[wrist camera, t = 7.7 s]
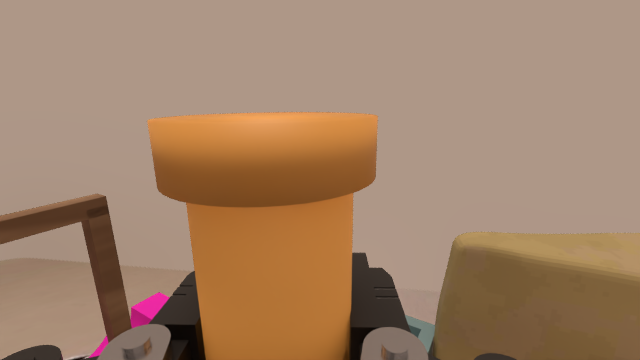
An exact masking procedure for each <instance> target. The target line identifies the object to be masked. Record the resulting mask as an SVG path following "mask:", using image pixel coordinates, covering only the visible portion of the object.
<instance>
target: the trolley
mask: <svg viewBox="0 0 640 360" xmlns="http://www.w3.org/2000/svg"><path fill="white" fill-rule="evenodd" d="M77 222H82V227H83V231H84V236H85V240H86V245H87V249H88V254H89V258H90V263H91V267H92V272H93V276H94V281H95V285H96V290H97V294H98V299H99V303H100V308H101V312H102V316H103V321H104V325H105V330H106V334H107V339H108V343H109V342H110V341H112V340H113V339H114V338H115V337H117V336H118V335H120V334H122V333H123V332H125V331H127V330H130V329H132V326H131V321H130V316H129V311H128V306H127V301H126V296H125V290H124V285H123V280H122V275H121V270H120V265H119V260H118V255H117V250H116V246H115V240H114V235H113V231H112V225H111V220H110V215H109V210H108V205H107V200H106V196H103V195H99V194H94V195H89V196H85V197H81V198H76V199H72V200H67V201H63V202H58V203H54V204H50V205H46V206H41V207H36V208H32V209H28V210H24V211H19V212H14V213H10V214H6V215H1V216H0V244H3V243H7V242H10V241H14V240H17V239H21V238H24V237H28V236H31V235H35V234H38V233H42V232H45V231H49V230H53V229H56V228H60V227H63V226H67V225H70V224H74V223H77Z"/></svg>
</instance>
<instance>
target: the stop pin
mask: <svg viewBox="0 0 640 360" xmlns="http://www.w3.org/2000/svg"><path fill="white" fill-rule="evenodd" d="M377 121H378V116H377V115H371V114H360V113H330V112H282V113H279V112H276V113H234V114H233V113H232V114H207V115H188V116H174V117H162V118H155V119H149V120H148V128H149V134H150V142H151V149H152V155H153V162H154V169H155V176H156V182H157V188H158V190H159V192H161V193H162V194H163V195H165V196H167V197H169V198H171V199H175V200H178V201H182V202H186V205H187V213H188V221H189V229H190V237H191V245H192V253H193V261H194V269H195V277H196V285H197V293H198V301H199V309H200V317H201V325H202V333H203V341H204V349H205V357H206V360H349V341H350V313H351V291H352V231H353V229H352V228H353V193H354V192H357V191H359V190H361V189H363V188H365V187H367V186H369V185H370V184H371V183H372V182H373V181H374V180H375V177H376V151H377Z"/></svg>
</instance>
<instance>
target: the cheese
mask: <svg viewBox="0 0 640 360" xmlns="http://www.w3.org/2000/svg"><path fill="white" fill-rule="evenodd" d="M485 353H497V354H503V355H506V356H510V357H512V358H515V359H517V360H640V233H595V234H519V233H498V232H470V233H465V234H461V235H459V236H457V237H456V238H455V240H454V241H453V245H452V248H451V253H450V257H449V261H448V265H447V270H446V274H445V278H444V282H443V286H442V290H441V294H440V299H439V304H438V309H437V315H436V323H435V333H434V345H433V356H434V357H436V358H438V359H440V360H474V359H475V358H476V357H477V356H479V355H481V354H485Z"/></svg>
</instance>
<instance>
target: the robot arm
mask: <svg viewBox="0 0 640 360" xmlns="http://www.w3.org/2000/svg"><path fill="white" fill-rule="evenodd" d="M2 360H63V357H62V354H61V351H60V349H59V348H58V347H56V346H53V345H41V346H35V347H31V348H27V349H24V350H21V351H19V352H16V353H14V354H12V355H10V356H7V357H6V358H4V359H2ZM81 360H206V357H205V349H204V341H203V333H202V325H201V317H200V309H199V301H198V293H197V285H196V277H195V271H193V272H192V273H190V274H189V275H188V276H187V277H186V278H185V279H184V281H183V282H182V283H181V284H180V287H178V288H177V289H176V290H175V292H174V293H173V296H171V297H170V298H169V299H168V300H167V302H166V303H165V304H164V305H163V306H162V308H161V309H160V310H159V311H158V313H157V314H156V315H155V316H154V318H153V319H152V320H151V321H150V322H149V324H147V325H141V326H138V327H135V328H132V329H130V330H127V331H125V332H123V333H122V334H120V335H118V336H117V337H115V338H114V339H113V340H112V341H110V342H109V343H108V344H107V346H106V347H105V348H104V349H103V351H102V352H101V354H100V355H99V356H95V357H90V358H86V359H81ZM349 360H440V359H438V358H436V357H434V356H432V355H430V354H429V353H427V350H426V348H425V346H424V344H423V343H422V342H421V341H420V340H419V339H418V338H417V337H416V336H415V335H413V334H411V331H410V328H409V325H408V322H407V320H406V317H405V314H404V311H403V308H402V305H401V302H400V300H399V298H398V294H397V291H396V289H395V285H394V282H393V279H392V277H391V276H390V275H389V274H388V273H387V272H386V271H385V270H384V269H383V268H369V265H368V262H367V257H366V254H365V253H352V291H351V313H350V341H349ZM474 360H517V359H515V358H512V357H510V356H506V355H503V354H497V353H485V354H481V355H479V356H477V357H476V358H475V359H474Z"/></svg>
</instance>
